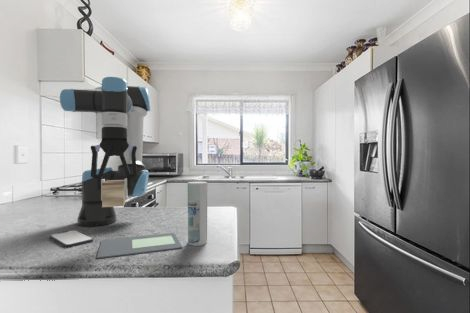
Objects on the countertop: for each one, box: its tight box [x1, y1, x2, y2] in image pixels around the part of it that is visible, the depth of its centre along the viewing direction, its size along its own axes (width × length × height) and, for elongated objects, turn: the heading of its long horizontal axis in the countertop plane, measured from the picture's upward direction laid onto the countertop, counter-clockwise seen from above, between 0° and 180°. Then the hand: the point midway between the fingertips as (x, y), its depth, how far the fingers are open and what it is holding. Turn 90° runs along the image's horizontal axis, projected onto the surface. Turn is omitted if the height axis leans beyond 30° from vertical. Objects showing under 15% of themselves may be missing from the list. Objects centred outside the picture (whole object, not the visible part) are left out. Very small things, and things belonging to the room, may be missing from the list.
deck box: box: [102, 180, 127, 208], centre depth 88 cm, size 10×6×7 cm, turn 18°
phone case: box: [49, 229, 94, 249], centre depth 94 cm, size 9×2×16 cm
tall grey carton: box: [187, 180, 208, 247], centre depth 91 cm, size 6×6×20 cm
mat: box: [96, 232, 183, 260], centre depth 89 cm, size 17×24×1 cm
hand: (114, 199), depth 88 cm, fingers closed on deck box, 6 cm apart
